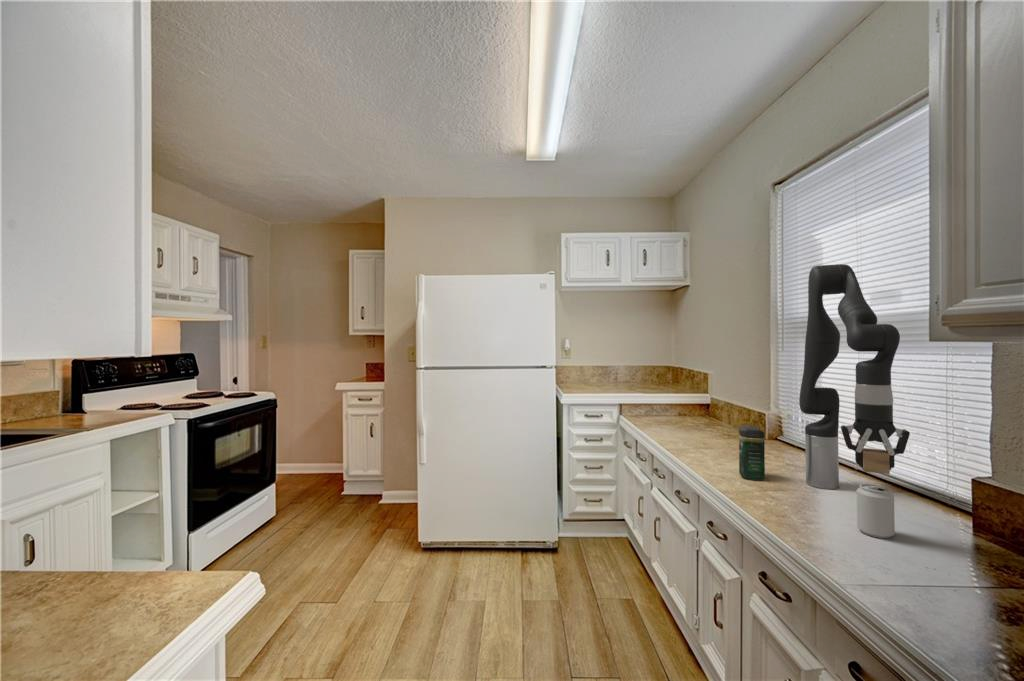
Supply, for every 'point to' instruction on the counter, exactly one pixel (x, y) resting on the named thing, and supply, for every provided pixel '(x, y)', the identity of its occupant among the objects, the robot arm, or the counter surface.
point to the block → (875, 461)
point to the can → (875, 510)
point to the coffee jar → (751, 452)
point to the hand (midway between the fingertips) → (874, 467)
